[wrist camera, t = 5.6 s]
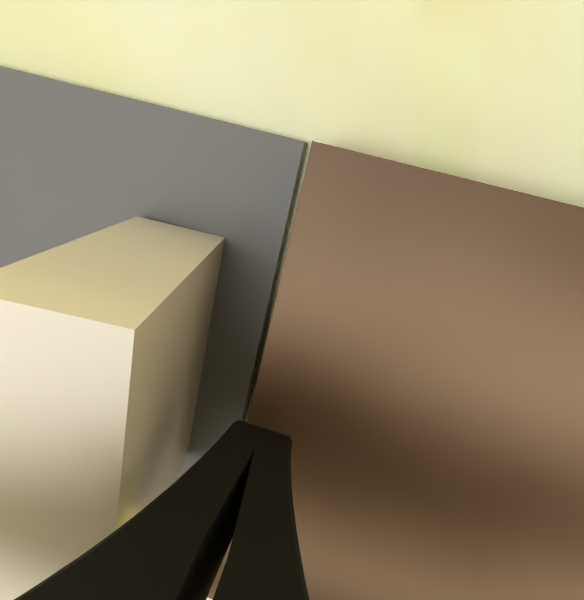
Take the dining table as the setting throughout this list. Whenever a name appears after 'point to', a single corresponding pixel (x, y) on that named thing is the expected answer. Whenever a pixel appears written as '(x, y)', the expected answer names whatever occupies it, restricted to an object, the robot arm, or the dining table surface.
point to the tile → (96, 386)
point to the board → (429, 385)
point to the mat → (154, 206)
